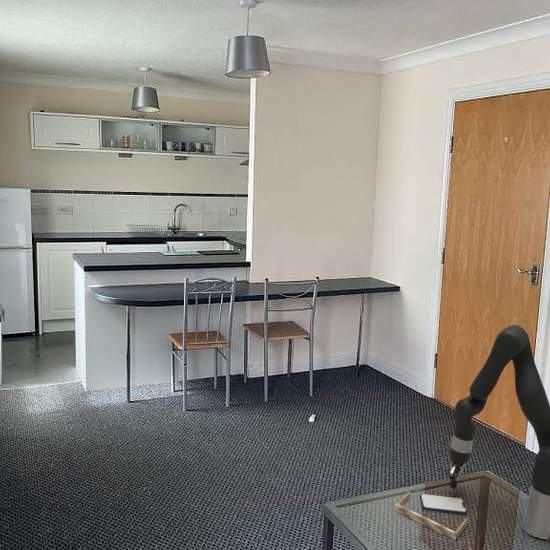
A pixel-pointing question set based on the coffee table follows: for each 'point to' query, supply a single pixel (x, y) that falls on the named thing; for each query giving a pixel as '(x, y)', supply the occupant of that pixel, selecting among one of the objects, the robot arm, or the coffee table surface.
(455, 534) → the wood frame
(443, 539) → the coffee table surface
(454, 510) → the smartphone
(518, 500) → the coffee table surface
